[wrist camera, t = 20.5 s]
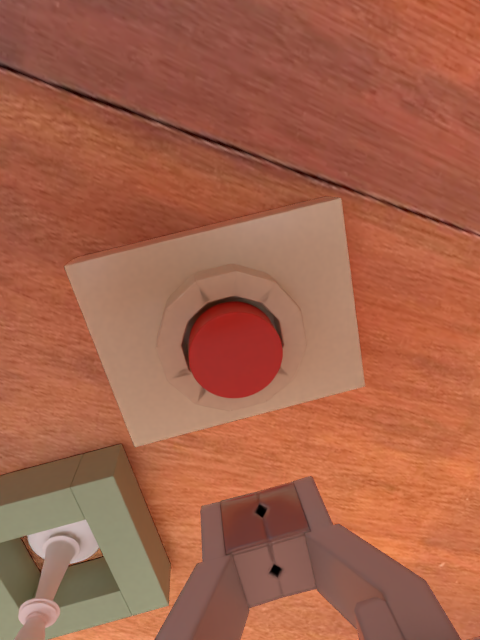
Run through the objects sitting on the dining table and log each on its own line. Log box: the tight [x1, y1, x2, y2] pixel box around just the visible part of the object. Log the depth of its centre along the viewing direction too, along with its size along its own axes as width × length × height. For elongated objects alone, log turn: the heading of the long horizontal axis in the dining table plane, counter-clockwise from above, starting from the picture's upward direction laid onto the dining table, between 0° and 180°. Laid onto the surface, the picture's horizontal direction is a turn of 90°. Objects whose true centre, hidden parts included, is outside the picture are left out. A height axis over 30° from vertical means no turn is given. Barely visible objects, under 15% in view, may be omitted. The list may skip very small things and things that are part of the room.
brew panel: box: [64, 196, 365, 447], centre depth 21 cm, size 14×11×4 cm
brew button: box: [188, 301, 283, 398], centre depth 19 cm, size 4×4×2 cm
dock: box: [0, 444, 171, 640], centre depth 26 cm, size 11×11×3 cm
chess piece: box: [14, 519, 99, 640], centre depth 22 cm, size 5×5×10 cm
